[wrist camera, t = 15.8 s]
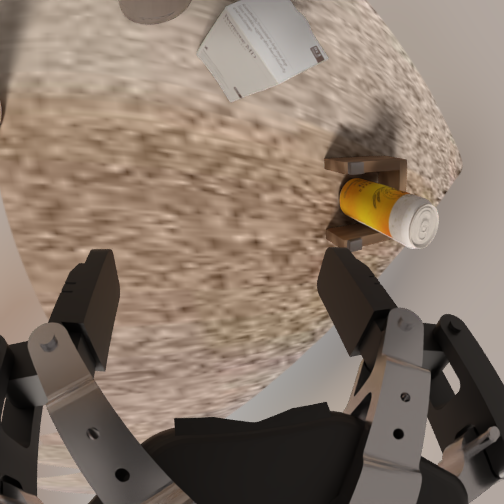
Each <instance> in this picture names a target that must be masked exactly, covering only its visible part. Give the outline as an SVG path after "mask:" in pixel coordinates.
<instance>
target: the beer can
mask: <svg viewBox="0 0 504 504" xmlns="http://www.w3.org/2000/svg"><path fill="white" fill-rule="evenodd" d="M340 207H341V209H342V211H343V212H344V214H345V215H347V216H349V217H351V218H353V219H355V220H357V221H359V222H361V223H363V224H365V225H367V226H369V227H371V228H373V229H374V230H376V231H378V232H380V233H382V234H384V235H386V236H388V237H390V238H392V239H394V240H395V241H397V242H399V243H401V244H403V245H405V246H406V247H408V248H418V249H422V248H424V247H426V246H428V245H429V244H430V243H431V241H432V240H433V238H434V236H435V235H436V232H437V229H438V224H439V216H438V211H437V209H436V208H435V206H433V205H432V204H431V203H430V201H429V200H427V199H425V198H422V197H419V196H416V195H413V194H410V193H407V192H404V191H401V190H398V189H395V188H392V187H388V186H385V185H382V184H379V183H375V182H372V181H368V180H365V179H361V178H354V179H351V180H349V181H348V182H347V183H346V184H345V185H344V186H343V188H342V190H341V192H340Z"/></svg>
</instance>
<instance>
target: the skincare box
mask: <svg viewBox="0 0 504 504" xmlns="http://www.w3.org/2000/svg"><path fill="white" fill-rule="evenodd" d="M196 54H197V56H198V57H199V59H200V60H201V61H202V62H203V63H204V64H205V66H206V67H207V68H208V69H209V71H210V72H211V73H212V75H213V76H214V78H215V79H216V81H217V82H218V84H219V85H220V87H221V88H222V90H223V91H224V93H225V95H226V96H227V98H228V100H229V101H230V102H234V101H236V100H239V99H241V98H244V97H246V96H249V95H251V94H254V93H257V92H260V91H263V90H266V89H268V88H271V87H274V86H276V85H279V84H281V83H283V82H284V81H286V80H288V79H290V78H292V77H294V76H296V75H298V74H300V73H302V72H304V71H306V70H308V69H310V68H312V67H314V66H316V65H318V64H320V63H322V62H324V61H326V60H328V59H329V58H328V56H327V55H326V53H325V51H324V50H323V48H322V47H321V45H320V44H319V42H318V40H317V39H316V37H315V36H314V34H313V33H312V31H311V28H310V25H309V23H308V21H307V20H306V18H305V17H304V16H303V15H302V14H301V13H300V12H299V11H298V10H297V9H296V8H295V6H294V5H293V3H292V2H291V0H239V1H237V2H235V3H233V4H230V5H228V6H226V7H225V8H224V10H223V11H222V13H221V14H220V16H219V17H218V19H217V20H216V22H215V23H214V25H213V26H212V28H211V29H210V31H209V33H208V34H207V36H206V38H205V39H204V41H203V42H202V44H201V46H200V47H199V49H198V51H197V53H196Z"/></svg>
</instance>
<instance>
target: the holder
mask: <svg viewBox="0 0 504 504" xmlns="http://www.w3.org/2000/svg"><path fill="white" fill-rule="evenodd" d="M324 161H325V169H327V170H331V171H334V172H338V173H342V174H350V175H355V174H364V172H378V183H379V184H382V185H385V186H388V187H392V188H395V189H398V190H401V191H404V192H406V179H407V160H406V159H400V158H395V157H390V156H361V157H341V158H326V159H324ZM326 239H327V240H329V241H330V242H332V243H333V244H335V245H336V246H338V247H346V248H348V249H349V250H350V251H351V252H353V251H357V250H361V249H362V246H366V245H370V244H374V243H378V242H382V241H386V240H390V239H392V238H390V237H388V236H386V235H384V234H382V233H380V232H378V231H376V230H374V229H373V228H371V227H369V226H367V225H365V224H363V223H356V224H351V225H346V226H340V227H335V228H330V229H326Z"/></svg>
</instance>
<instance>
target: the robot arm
mask: <svg viewBox="0 0 504 504" xmlns="http://www.w3.org/2000/svg"><path fill="white" fill-rule="evenodd" d="M118 1H119V5H120V8H121V11H122V12H123V14H124V15H125V16H126V17H127V18H128V19H130V20H132V21H134V22H136V23H140V24H158V23H163V22H166V21H169V20H171V19H173V18H175V17H177V16H178V15H180V14H181V13H182V12H183V11H184V10H185V9H186V8H187V7H188V5H189V3H190V2H191V0H118ZM317 289H318V293H319V296H320V297H321V299H322V301H323V303H324V305H325V307H326V309H327V311H328V313H329V315H330V317H331V319H332V321H333V323H334V325H335V328H336V329H337V331H338V334H339V335H340V338H341V340H342V342H343V344H344V346H345V348H346V350H347V352H348V354H349V356H350V357H352V356H357V355H362V357H363V360H362V361H361V364H360V366H359V370H358V373H357V376H356V380H355V383H354V386H353V390H352V393H351V395H350V399H349V401H348V404H347V406H346V408H345V410H344V411H343V413H342V412H335V411H330V410H329V407H328V405H327V402H323V403H318V404H313V405H308V406H303V407H297V408H292V409H290V410H287V411H285V412H283V413H280V414H277V415H275V416H272V417H270V418H267V419H265V420H262V421H259V422H244V421H237V420H229V419H223V418H216V417H205V418H174V422H175V428H171V429H168V430H165V431H162V432H159V433H157V434H155V435H153V436H152V437H150V438H149V439H147V440H146V441H144V442H143V443H142V444H141V445H140V444H139V442H138V441H137V440H136V439H135V437H134V436H133V435H132V433H131V432H130V431H129V430H128V428H127V427H126V426H125V424H124V423H123V421H122V420H121V419H120V417H119V416H118V415H117V413H116V412H115V410H114V409H113V407H112V406H111V405H110V403H109V402H108V400H107V399H106V397H105V396H104V394H103V393H102V391H101V389H100V388H99V386H98V385H97V383H96V382H95V380H94V373H95V371H105V370H106V363H107V358H108V352H109V346H110V341H111V336H112V331H113V326H114V321H115V316H116V312H117V307H118V303H119V298H120V285H119V280H118V275H117V270H116V266H115V260H114V255H113V252H112V250H111V249H92V250H91V251H90V253H89V255H88V257H87V260H86V262H85V263H79V264H78V265H77V266H76V267H75V268H74V269H73V270H72V271H71V272H70V273H69V275H68V277H67V280H66V282H65V284H64V286H63V288H62V293H60V295H59V297H58V300H57V302H56V304H55V307H54V309H53V312H52V314H51V317H50V319H49V322H48V323H45V324H43V325H41V326H39V327H37V328H36V329H35V330H34V331H33V332H32V333H31V335H30V337H29V340H28V341H26V342H21V343H16V344H11V345H8V344H7V342H6V341H5V339H4V338H3V337H2V336H1V335H0V504H43V503H42V501H41V500H40V499H39V498H38V497H37V460H38V443H39V433H40V422H41V415H42V408H43V405H46V407H47V410H48V412H49V415H50V417H51V419H52V421H53V423H54V425H55V427H56V429H57V431H58V433H59V435H60V437H61V438H62V440H63V442H64V444H65V446H66V447H67V449H68V451H69V453H70V454H71V456H72V458H73V459H74V461H75V463H76V464H77V466H78V467H79V469H80V471H81V472H82V474H83V475H84V477H85V478H86V480H87V481H88V483H89V484H90V486H91V487H92V488H93V490H94V491H95V493H96V496H95V497H94V498H93V499H92V500H91V501H90V502H89V503H88V504H469V503H470V502H471V501H473V500H474V499H476V498H477V497H478V496H480V495H481V494H482V493H483V492H485V491H486V490H487V489H488V488H490V487H491V486H492V485H494V484H495V483H497V482H499V481H501V480H503V479H504V385H503V383H502V381H501V380H500V378H499V376H498V374H497V373H496V371H495V369H494V368H493V366H492V364H491V363H490V361H489V360H488V358H487V356H486V355H485V354H484V352H483V350H482V348H481V347H480V345H479V344H478V342H477V341H476V339H475V338H474V336H473V335H472V333H471V332H470V331H469V329H468V328H467V326H466V325H465V323H464V322H463V321H462V320H460V319H459V318H457V317H456V316H454V315H451V314H445V315H443V316H442V317H441V318H440V320H439V321H438V323H437V324H428V323H422V320H421V319H420V318H419V316H417V315H416V314H415V313H414V312H412V311H410V310H408V309H405V308H398V307H397V306H396V304H395V303H394V302H393V300H392V299H391V297H390V296H389V295H388V293H387V292H386V290H385V289H384V288H383V286H382V285H381V284H380V282H379V281H378V279H377V278H376V277H375V275H374V274H373V273H372V271H371V270H370V269H369V267H368V266H366V265H365V264H364V263H362V262H361V261H359V260H358V259H356V258H355V257H354V255H353V254H352V253H351V251H350V250H349V249H348V248H346V247H329V248H328V249H327V250H326V252H325V255H324V259H323V262H322V266H321V269H320V273H319V276H318V280H317ZM449 362H450V364H451V366H452V368H453V369H454V371H455V373H456V375H457V376H458V378H459V380H460V390H459V392H458V393H457V394H456V395H455V394H454V392H453V390H452V388H451V386H450V384H449V383H448V380H447V379H446V377H445V375H444V373H443V371H442V370H443V369H444V368H445V366H446V365H447V364H448V363H449ZM5 398H6V401H5V405H4V410H3V416H2V422H1V414H2V409H3V404H4V399H5ZM427 417H428V420H429V422H430V424H431V426H432V429H433V431H434V434H435V436H436V438H437V441H438V443H439V446H440V448H441V451H442V453H443V456H442V460H441V461H440V462H439V463H438V465H436V464H434V463H432V462H430V461H429V460H427V459H425V458H424V457H422V456H421V452H422V447H423V441H424V435H425V428H426V421H427Z"/></svg>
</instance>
